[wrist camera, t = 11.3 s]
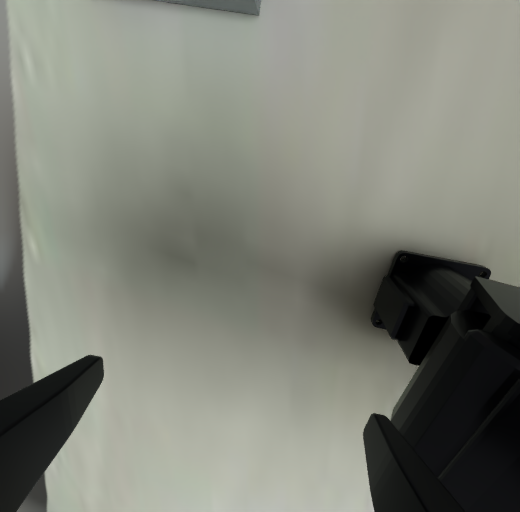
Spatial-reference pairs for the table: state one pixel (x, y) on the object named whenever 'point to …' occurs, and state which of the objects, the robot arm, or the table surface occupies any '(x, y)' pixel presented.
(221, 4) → the grey ledge
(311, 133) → the table surface
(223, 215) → the table surface
